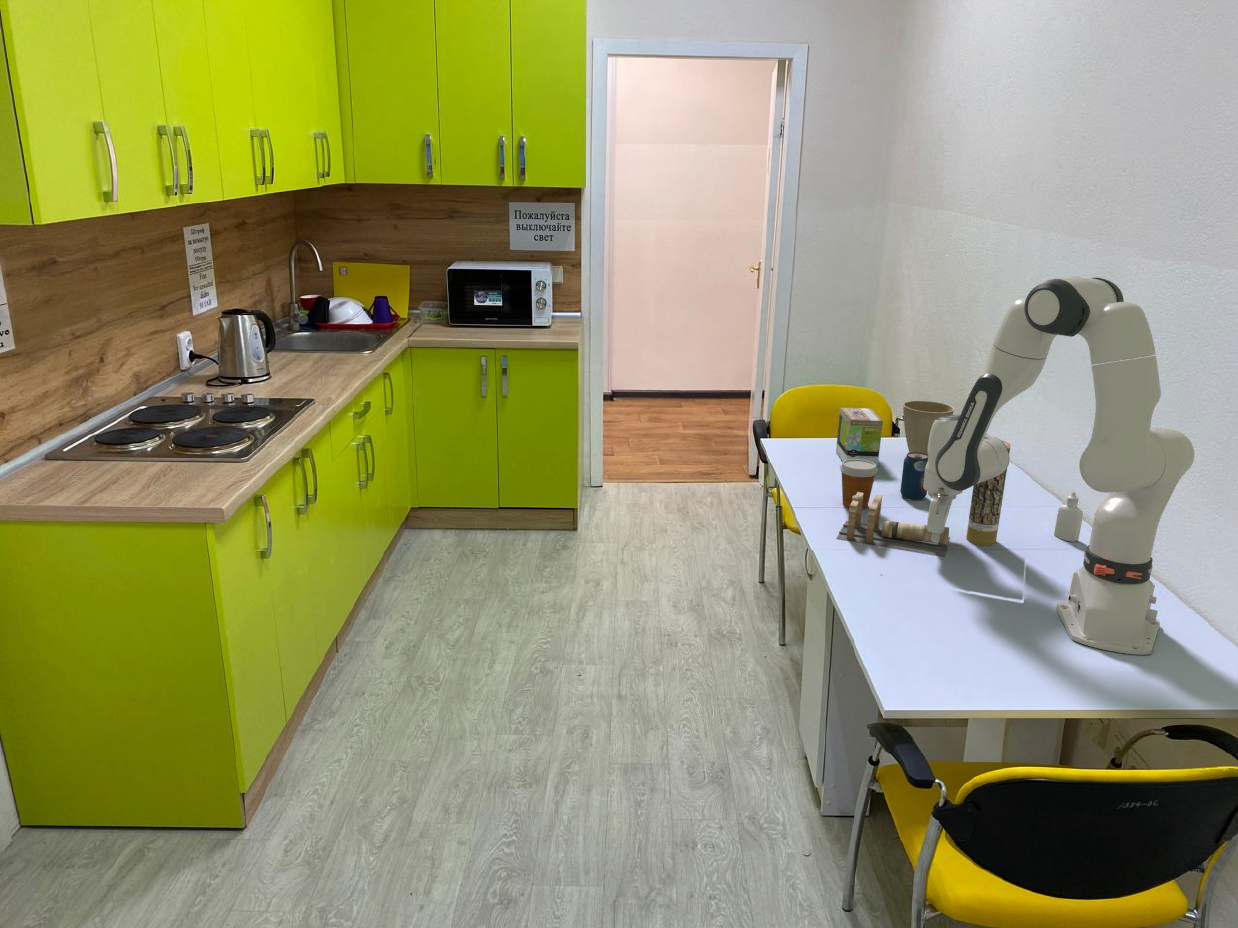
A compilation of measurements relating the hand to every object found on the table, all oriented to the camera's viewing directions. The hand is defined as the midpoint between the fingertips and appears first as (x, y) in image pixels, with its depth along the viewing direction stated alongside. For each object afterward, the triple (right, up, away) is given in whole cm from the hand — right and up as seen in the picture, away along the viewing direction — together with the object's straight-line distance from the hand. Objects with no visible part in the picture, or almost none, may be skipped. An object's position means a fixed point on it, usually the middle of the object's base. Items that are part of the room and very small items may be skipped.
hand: (936, 537), depth 226 cm
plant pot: (+19, +20, +70) cm, 75 cm away
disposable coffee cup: (-13, +6, +26) cm, 29 cm away
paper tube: (+12, -2, +4) cm, 13 cm away
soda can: (+5, +8, +34) cm, 35 cm away
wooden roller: (-4, -1, +2) cm, 5 cm away
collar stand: (-9, -1, +4) cm, 10 cm away
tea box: (-3, +18, +65) cm, 68 cm away
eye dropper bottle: (+34, -1, +8) cm, 35 cm away
